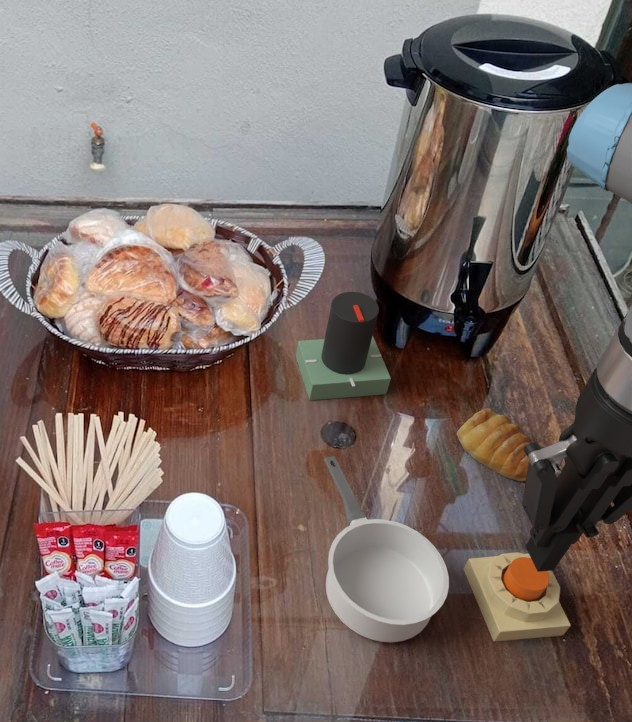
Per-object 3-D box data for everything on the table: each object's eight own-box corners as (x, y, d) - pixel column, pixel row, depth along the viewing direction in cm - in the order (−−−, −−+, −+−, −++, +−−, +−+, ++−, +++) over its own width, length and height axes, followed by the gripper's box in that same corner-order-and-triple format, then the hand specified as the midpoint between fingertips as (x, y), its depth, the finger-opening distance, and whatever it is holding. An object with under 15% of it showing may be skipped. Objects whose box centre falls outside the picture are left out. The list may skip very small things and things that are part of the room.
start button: (532, 565, 77) (539, 555, 76) (548, 599, 75) (556, 588, 73) (497, 569, 77) (503, 558, 76) (512, 602, 75) (519, 592, 73)
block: (528, 563, 82) (540, 543, 79) (563, 635, 76) (578, 617, 73) (463, 568, 81) (473, 549, 79) (493, 641, 76) (505, 623, 73)
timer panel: (366, 346, 105) (370, 329, 103) (388, 399, 98) (393, 382, 96) (294, 351, 105) (296, 335, 103) (311, 405, 98) (314, 389, 96)
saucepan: (368, 475, 90) (377, 446, 86) (456, 635, 76) (472, 608, 72) (275, 496, 89) (280, 467, 85) (348, 662, 75) (358, 637, 71)
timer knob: (316, 345, 101) (326, 291, 95) (358, 342, 101) (371, 287, 95) (327, 376, 97) (338, 322, 91) (371, 372, 98) (385, 318, 91)
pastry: (550, 467, 90) (562, 447, 87) (511, 495, 88) (522, 475, 85) (485, 417, 96) (494, 396, 93) (447, 441, 93) (455, 421, 91)
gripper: (587, 436, 53) (486, 601, 70) (772, 421, 53) (627, 588, 70) (538, 359, 58) (456, 529, 75) (707, 346, 58) (587, 518, 75)
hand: (539, 558), depth 72 cm, fingers closed
